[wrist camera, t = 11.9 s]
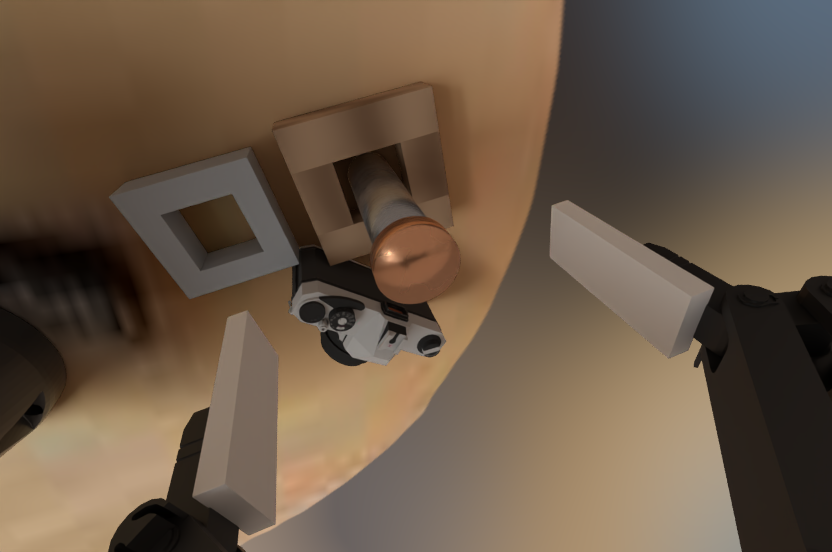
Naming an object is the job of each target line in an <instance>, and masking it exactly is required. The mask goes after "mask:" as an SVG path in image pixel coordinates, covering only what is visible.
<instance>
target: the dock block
mask: <svg viewBox="0 0 832 552" xmlns="http://www.w3.org/2000/svg"><path fill="white" fill-rule="evenodd" d="M272 132H273V134H274V136H275V139H276V141H277V143H278V146H279V148H280V150H281V153H282V155H283V157H284V160H285V162H286V164H287V167H288V169H289V171H290V174H291V176H292V178H293V181H294V183H295V185H296V187H297V190H298V192H299V194H300V197H301V199H302V201H303V204H304V206H305V208H306V211H307V213H308V215H309V218H310V220H311V222H312V225H313V227H314V229H315V232H316V234H317V236H318V238H319V241H320V243H321V245H322V248H323V250H324V252H325V255H326V257H327V259H328V262H329V264H330V266H332V265H335V264H338V263H341V262H344V261H348V260H351V259H354V258H357V257H360V256H363V255H366V254H369V253H370V251H371V248H372V244H371V241H370V238H369V235H368V233H367V230H366V227H365V224H364V222H363V219H362V216H361V213H360V210H359V208H356V209H353V210H349V207H348V204H347V201H346V199H345V196H344V193H343V190H342V187H341V184H340V181H339V178H338V176H337V173H336V170H335V167H334V164H333V162H336V161H339V160H343V159H346V158H349V157H353V156H356V155H359V154H363V153H366V152H370V151H373V150H376V149H380V148H383V147H387V146H390V145H393V144H395V149H396V153H397V157H398V161H399V166H400V170H401V174H402V179H403V183H404V186H405V188H406V189H407V190H408V192H409V193H410V195H411V196H412V198H413V199H414V200H415V202H416V203H417V205H418V206H419V207H420V209H421V210H422V212H423V213H424V214H425V216H426V217H428V218H431V219H433V220H435V221H437V222H439V223H440V224H441V225H442V226H443V227H444V228H445V229H446V228H449V227H452V226H454V225H453V219H452V212H451V206H450V199H449V193H448V186H447V180H446V173H445V167H444V160H443V154H442V147H441V141H440V134H439V128H438V121H437V115H436V108H435V102H434V95H433V89H432V86H430V85H428V84H425V83H423V82H418V83H414V84H411V85H407V86H403V87H400V88H396V89H393V90H389V91H386V92H382V93H378V94H375V95H371V96H368V97H364V98H360V99H357V100H353V101H350V102H346V103H342V104H339V105H335V106H332V107H328V108H324V109H321V110H317V111H314V112H310V113H306V114H303V115H299V116H296V117H292V118H289V119H285V120H281V121H278V122H274V125H273V130H272Z"/></svg>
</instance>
